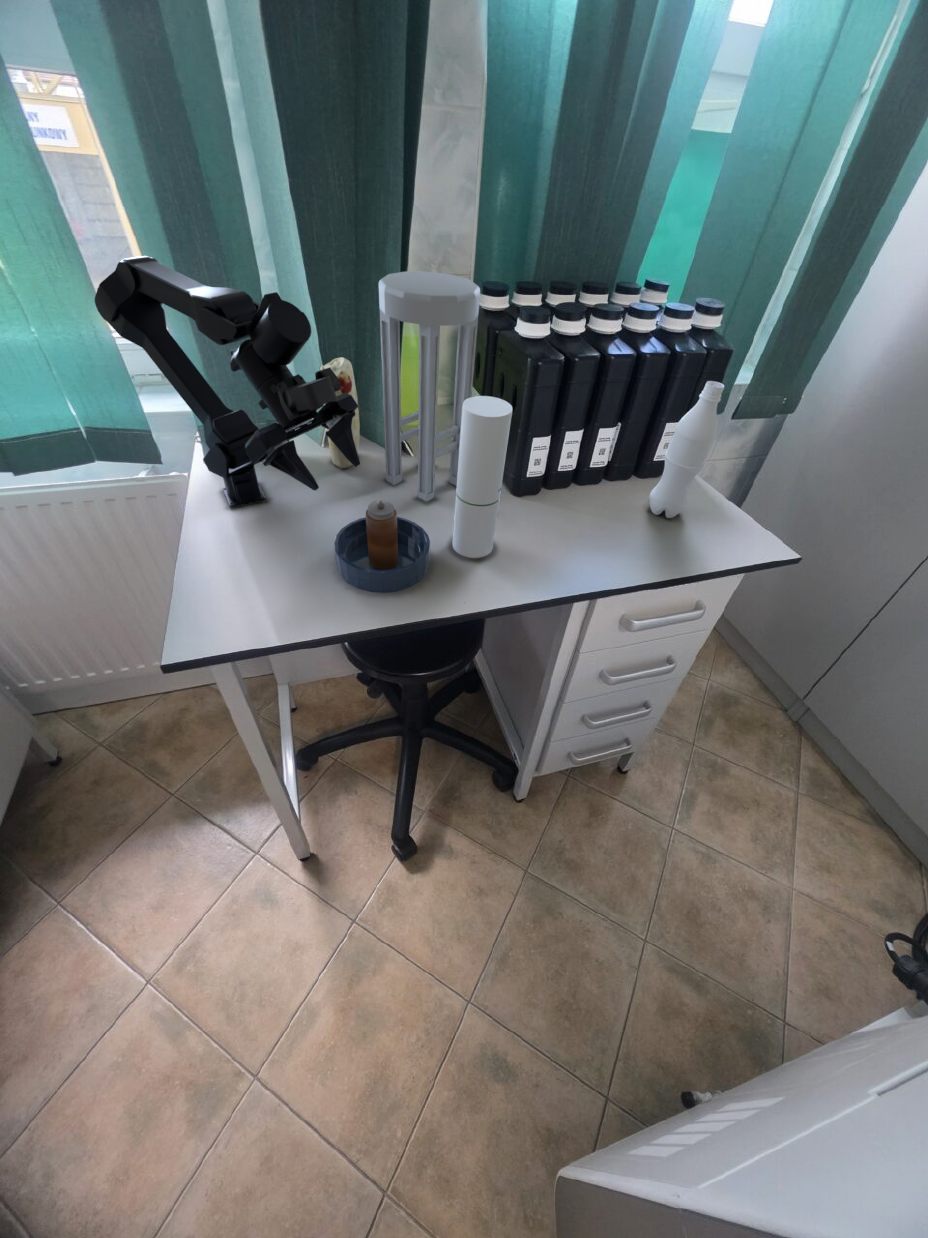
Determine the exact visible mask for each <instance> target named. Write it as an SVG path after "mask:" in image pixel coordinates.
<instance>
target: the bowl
mask: <svg viewBox="0 0 928 1238" xmlns="http://www.w3.org/2000/svg"><path fill="white" fill-rule="evenodd" d="M397 535H398V564H397V565H396V566H395V567H394V568H393V569H390V570H376V569H374V568H373V567H371V566H370V564H369V555H368V542H367V529H366V516H364V517H360V518H358V519H355V520H353V521H351V522H349V523H347V524H346V525H344V526H343V527H342V528H341V529H340V530H339V531H338V532H337V533H336V535H335V538H334V542H333V547H334V548H333V549H334V555H335V556H334V557H335V562H336V570H337V572H338V574H339V575H340V578H342V579H343V580H344V581H346V582H347V584H349V585H351V586H353V587H355V588H357V589H360V590H364V591H366V592H367V591H368V592H371V593H389V592H390V593H391V592H398V591H401V590H404V589H408V588H409V587H412V586H413V585H415V584H418V583H419V582H420V581H421V580H422V579H423V578H424V577H425V576H426V574H427V573H428V570H429V568H430V562H431V561H430V559H431V558H430V557H431V540H430V537H429V535H428V532H426V530H425V529H424V528H423V527H422V526H420V525H419V524H417V523H416V522H414V521H412V520H411V519H408V518H404V517H401V516H397Z"/></svg>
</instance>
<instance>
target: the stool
mask: <svg viewBox="0 0 928 1238" xmlns="http://www.w3.org/2000/svg"><path fill="white" fill-rule="evenodd" d="M480 301H481V288H480V286H479V285H478V284H476V283H475V282H473V281H472V280H471V279H468V278H465V277H461V276H458V275H454V274H450V273H442V272H435V271H434V272H433V271H413V270H412V271H411V270H410V271H409V270H408V271H407V270H406V271H400V272H393V273H388V274H387V275H385V276H384V277H382V278H381V279H380V280H379V281H378V304H379V306H378V307H379V329H380V331H379V332H380V353H381V354H380V356H381V381H382V383H381V384H382V404H383V408H382V409H383V428H384V429H383V431H384V454H385V455H384V456H385V457H384V459H385V481H386V482H388V483H389V484H391V485H394V486H395V485H397V484H400V483H402V482H403V469H402V468H403V463H402V461H403V459H402V457H403V456H402V451H403V450H402V442H404V441H406V440H410V439H412V438H414V437H417V436H418V437H417V439H418V440H417V497H418V498H419V499H421V500H423V501H424V502H428V501H430V500H432V499H435V482H436V481H435V478H436V459H438V458H440V457H442V456H444V455H446V454H449V453H450V460H449V461H450V462H449V477H448V479H449V480H448V481H449V482H448V483H449V484H451V485H453V486H455V487H457V474H458V460H459V447H460V433H461V420H462V406H463V402H464V401H465V400H466V399H468V398H471V397H473V396H472V395H473V387H474V386H473V385H474V373H475V361H476V360H475V359H476V350H477V338H478V337H477V336H478V324H479V314H480V313H479V312H480ZM400 322H402V323H406V324H407V323H408V324H416V325H419V327H418V336H419V337H418V340H419V341H418V410H417V411H414V412H412V413H409V414H407V415H404V416H402V395H401V394H402V393H401V391H402V390H401V387H402V386H401V328H400V327H401V325H400ZM442 326H443V327H445V326H446V327H447V326H457V343H456V344H457V345H456V360H455V377H454V378H455V379H454V394H453V412H452V426H450V427H448V428H445V429H443V430H441V431H438V432H437V424H438V423H437V422H438V421H437V420H438V399H439V398H438V394H439V393H438V392H439V367H440V339H441V338H440V337H441V327H442ZM416 421H418V426H415V427H413V428H411V429H408V430H405V431H402V427H404V426H406V425H408V424H411V423H414V422H416ZM450 437H451V442H448V443H446V444H444V445H441V446H439V447H437V443H439V442H442V441H443V440H446V439H448V438H450Z"/></svg>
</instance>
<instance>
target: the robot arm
mask: <svg viewBox="0 0 928 1238" xmlns="http://www.w3.org/2000/svg"><path fill="white" fill-rule="evenodd" d="M94 304H95V308H96V310H97V312H98V313H99V315H100V316H101V317H102V319H103V320H104V321H105V322H107V323H108V324H109V325H110V327H112V328H113V330H114V331H115V332H116V333H117V334H118V335H119V336H120V337H121V338H123V339H125V340H127V341H129V342H131V343H132V344H135V345H137V346H138V347H141V348H142V350H143V351H144V352H145V353H146V354H147V355H148V357H149V358H150V359H151V361H152V362H153V363H154V365H155V366H156V367H157V368H158V369H159V371H160V372H161V373H162V375H163V376H164V377H165V378H166V380H167V381H168V383H170V384H171V386H172V387H173V389H174V390H175V391H176V392H177V393H178V395H179V396H180V398H181V399H182V401H184V402H185V404H186V405H187V406H188V407H189V409H190V410H191V411H192V413H193V414H194V416H196V418H197V419H198V420H199V422H200V423H201V424H202V426H203V433H204V434H203V435H204V441H205V445H206V446H207V447H208V449H209V450H208V452H207V453H206V455H204V457H203V462H204V464H205V466H206V468H207V470H208V471H209V472H211V473H213V474H214V475H217V476H219V477H220V478H222V480H223V483H224V488H222V491H223V493H224V496H225V498H226V501H227V504H228V507H229V508H236V507H241V506H246V505H252V504H256V503H261V502H265V501H267V498H266V495H265V493H264V491H263V488H262V487H261V486H260V483H259V481H258V477H257V473H256V468H255V466H256V465H257V464H260V463H262V465H263V466H264V467H267V466H270V467H273V468H275V469H276V470H279V471H280V472H283V473H284V474H286V475H288V476H290V477H291V478H293V479H295V481H298V482H299V483H301V484H303V485H304V486H306V487H308V488H309V489H310V490H312V491H313V492H314V491H317V490H318V489H320V486H319V484H318V483H317V481H316V479H315V478H314V476H313V475H312V473H311V471H310V470H309V469H308V467H307V466H306V464H305V463H304V462H303V460H302V458H301V457H300V456H299V454H298V452H297V448H296V442H295V440H294V439H295V438H297V437H299V436H302V435H304V434H306V433H308V432H310V431H312V430H315V429H316V428H318V427H322V428H324V429H326V430H327V429H330V430H329V431H328V432H327V431H326V432H325V435H326V436H327V438H328V437H329V438H330V439H331V441H332V442H333V443H334V444H335V445H336V446H337V448H338V449H339V450H340V451H341V452H342V453H343V455H344V456H345V457H346V458H347V459H348V460H349V461H350V462H351V463H352V466H353V467H354V468H357V467H358V466H361V461H360V458H359V453H358V454H357V450H356V446H355V443H354V439H353V434H352V428H351V426H352V418H353V417H354V416H355V415H356V414H355V410H356V409H357V408H358V409H359V404H358V405H357V403H356V401H355V400H354V398H353V397H352V395H350V394H347V393H343V394H341V395H338V396H336V394H335V392H336V391H339V390H340V388H341V386H340V383H339V380H338V378H337V376H336V375H335V374H334V372H333V371H332V370H331V368H330V367H329V368H326V369H323V370H320V369H319V370H317V371H315V373H314V374H315V375H314V376H315V379H313V380H311V381H306V380H305V379H304V377H303V376H302V375H300V374H299V373H298V374H296V375H293V373H292V372H291V370H290V369H289V367H288V365H289V364H291V363H292V362H293V361H294V359H295V358H296V357H297V355H298V354H299V353H300V351H301V350H302V349H303V347H304V346H305V345H306V343H307V342H308V341H309V339H310V338H311V336H312V326H311V322H310V320H309V318H308V316H307V315H306V313H305V312H303V311H301V309H300V308H298V307H297V306H296V305H294V304H293V303H291V302H289V301H288V300H287V301H286V300H283V299H282V298H281V296H280V294H279V293H278V292H277V291H275V292H274V291H273V292H270V293H265V294H264V295H263V296H262V297H261V301H260V303H258V302H257V301H255V300H254V299H253V298H252V297H251V295H249V293H247V292H246V291H244V290H241V289H235V288H232V287H221V286H220V287H219V286H218V287H217V286H213V287H212V286H208V285H206V284H203V283H202V282H201V283H200V282H199V281H197V280H195V279H193V278H190V277H188V275H187V276H186V275H184V274H182V273H181V272H178V271H176V270H174V269H172V268H170V267H168V266H166V265H164V264H162V263H160V262H159V261H158V260H157V259H156V258H155V257H152V256H151V257H150V256H149V255H142V256H135V257H126V258H123V259H121V261H119V262H117V264H116V267H115V270H114V271H112V272H111V274H109V275H108V276H107V277H106V278H105V279H103V280H102V281H101V282H100V283H99V285H98V287H97V289H96V292H95V296H94ZM163 305H165V306H167V307H168V308H171V309H173V310H175V311H177V312H179V313H180V314H182V315H185V316H186V317H189V318H190V319H192V320H193V321H194V323H195V325H196V328H197V330H198V332H200V333H201V334H203V335H204V336H205V337H207V338H208V339H209V340H211V341H212V342H213V343H214V344H216V345H218V346H225V345H228V344H232V343H237V342H239V341H242V340H244V341H242V342H241V343H240V345H239V346H238V347H237V348H234V349H231V350H229V351H230V362H229V365H230V366H229V367H230V370H231V371H232V372H238V371H240V370H241V372H242V373H243V374H244V376H245V377H246V378H247V380H248V381H249V383H250V385H251V386H252V388H254V390H255V391H256V393H257V394H258V396H259V398H260V400H259V402H258V405H259V406H260V408H261V409H262V410H266V409H268V410H269V412H270V413H271V415H272V416H273V418H274V419H275V421H276V422H273V423H271V424H269V425H266V426H264V427H261V428H259V427H258V426H257V425H255V424H254V422H253V421H252V420H251V418H250V416H249V415H248V413H247V412H246V411H245V410H243V409H242V408H241V409H238V410H237V409H236V410H233V409H231V408H229V407H227V405H226V404H225V403H224V402H223V400H222V399H221V398H220V397H219V395H218V394H217V393H216V391H215V390H214V389H213V387H212V386H211V385H210V384H209V382H208V381H207V380H206V379H205V377H204V376H203V374H202V373H201V372H200V371H199V369H198V368H197V367H196V366H195V364H194V363H193V361H192V360H191V358H189V356H188V355H187V353H186V352H185V351H184V350H183V348H182V347H181V346H180V345H179V343H178V342H177V340H176V339H175V338H174V337H173V335H172V334H171V333H170V331H169V330H168V328H167V320H166V313H165V309H164V307H163ZM324 404H325V405H324Z"/></svg>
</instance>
